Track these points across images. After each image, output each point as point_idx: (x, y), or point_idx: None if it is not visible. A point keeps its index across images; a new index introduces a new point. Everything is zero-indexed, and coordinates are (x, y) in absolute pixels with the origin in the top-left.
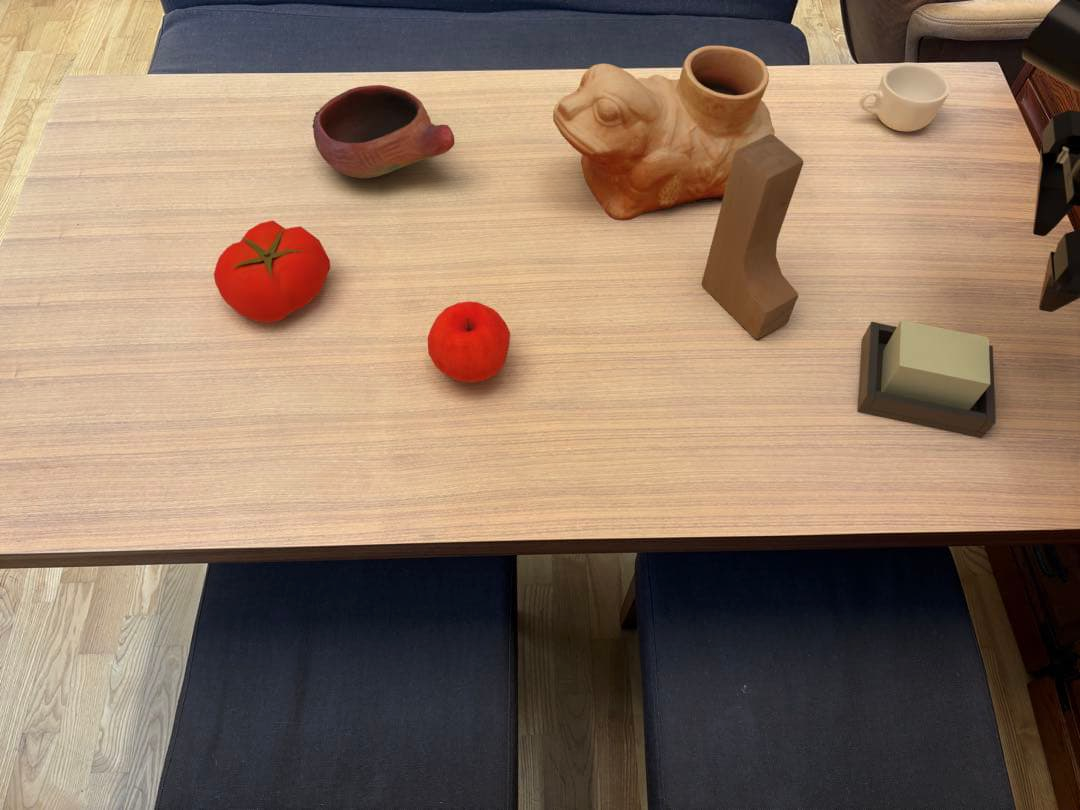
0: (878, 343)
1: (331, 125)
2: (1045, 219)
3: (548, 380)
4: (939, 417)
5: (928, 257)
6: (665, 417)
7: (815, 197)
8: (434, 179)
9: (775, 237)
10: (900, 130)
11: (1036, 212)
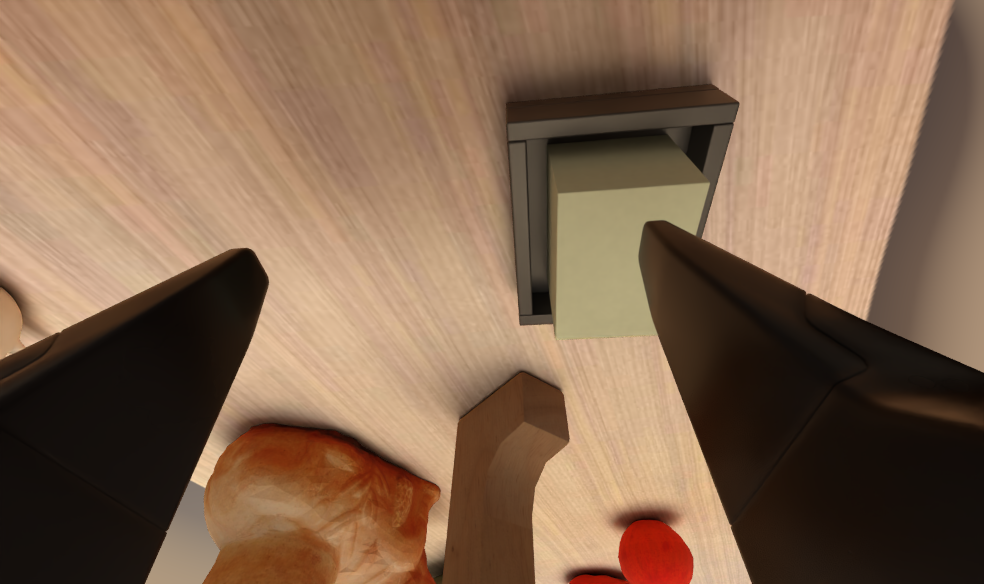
0: (532, 285)
1: None
2: (226, 332)
3: (653, 493)
4: None
5: (277, 220)
6: (689, 434)
7: (272, 368)
8: None
9: (491, 514)
10: (8, 297)
11: (232, 381)
